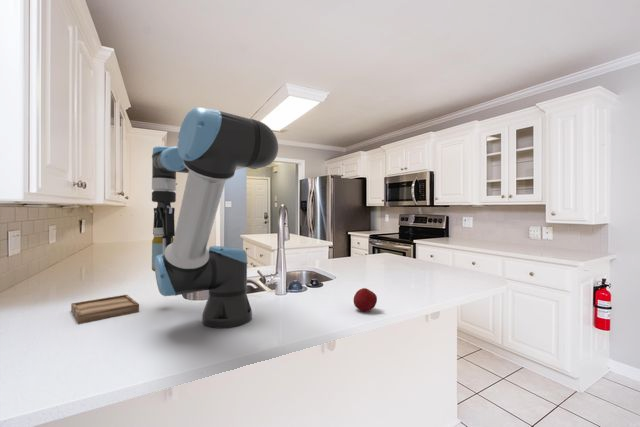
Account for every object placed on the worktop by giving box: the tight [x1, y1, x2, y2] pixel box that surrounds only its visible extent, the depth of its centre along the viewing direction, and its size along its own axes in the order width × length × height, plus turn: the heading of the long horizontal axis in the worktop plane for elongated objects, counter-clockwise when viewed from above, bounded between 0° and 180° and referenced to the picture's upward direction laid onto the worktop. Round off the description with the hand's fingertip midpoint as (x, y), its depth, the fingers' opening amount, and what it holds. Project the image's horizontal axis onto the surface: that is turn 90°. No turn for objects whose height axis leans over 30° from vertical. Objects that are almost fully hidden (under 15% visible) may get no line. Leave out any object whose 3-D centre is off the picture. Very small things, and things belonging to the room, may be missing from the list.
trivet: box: [71, 294, 140, 325], centre depth 99 cm, size 16×16×3 cm
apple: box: [353, 287, 378, 313], centre depth 104 cm, size 8×8×8 cm
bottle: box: [151, 228, 174, 272], centre depth 104 cm, size 7×7×15 cm
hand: (163, 255), depth 104 cm, fingers closed on bottle, 7 cm apart
